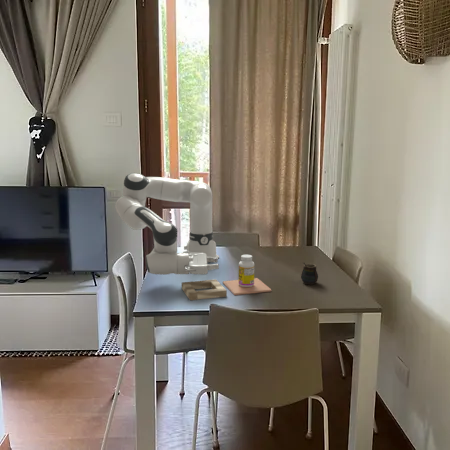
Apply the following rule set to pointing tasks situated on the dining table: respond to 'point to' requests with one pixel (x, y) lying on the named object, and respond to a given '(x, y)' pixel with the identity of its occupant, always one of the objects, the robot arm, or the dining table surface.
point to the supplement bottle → (246, 271)
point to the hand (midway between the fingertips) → (218, 263)
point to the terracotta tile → (239, 290)
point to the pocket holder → (204, 294)
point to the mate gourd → (309, 274)
